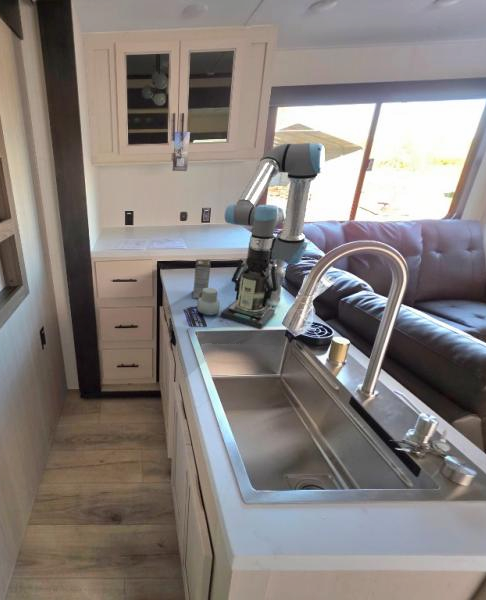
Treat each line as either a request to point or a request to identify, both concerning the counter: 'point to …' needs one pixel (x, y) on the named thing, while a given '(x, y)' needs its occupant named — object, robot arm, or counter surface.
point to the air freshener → (208, 302)
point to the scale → (247, 317)
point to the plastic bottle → (280, 276)
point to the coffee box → (201, 277)
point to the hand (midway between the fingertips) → (250, 302)
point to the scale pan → (252, 314)
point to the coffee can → (252, 291)
